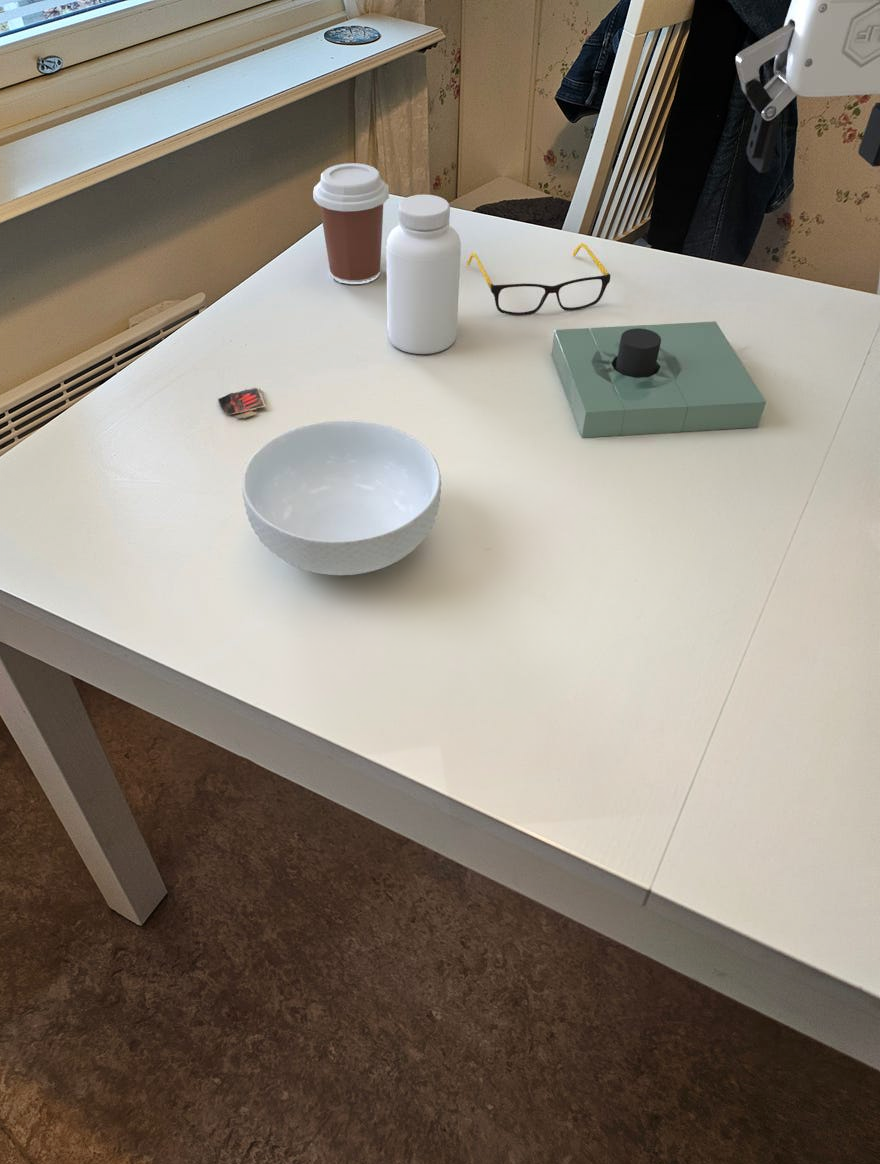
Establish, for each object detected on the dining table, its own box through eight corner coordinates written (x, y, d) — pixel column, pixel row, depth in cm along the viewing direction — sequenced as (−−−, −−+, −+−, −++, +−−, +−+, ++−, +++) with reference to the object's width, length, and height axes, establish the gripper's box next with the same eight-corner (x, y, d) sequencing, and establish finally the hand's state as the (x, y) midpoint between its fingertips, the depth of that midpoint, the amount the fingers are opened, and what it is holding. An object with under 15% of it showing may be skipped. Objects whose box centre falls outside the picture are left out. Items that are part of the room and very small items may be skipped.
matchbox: (213, 402, 95) (212, 398, 94) (256, 386, 97) (256, 382, 96) (233, 423, 92) (233, 419, 92) (277, 406, 94) (277, 402, 94)
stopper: (644, 378, 97) (655, 327, 92) (654, 399, 94) (666, 347, 90) (607, 381, 97) (616, 329, 92) (616, 401, 94) (626, 349, 90)
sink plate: (709, 345, 101) (715, 321, 99) (758, 427, 90) (766, 401, 88) (551, 354, 100) (554, 329, 98) (581, 437, 90) (585, 412, 87)
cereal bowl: (457, 592, 75) (460, 527, 70) (258, 618, 73) (246, 553, 68) (421, 470, 86) (421, 407, 81) (247, 490, 85) (236, 427, 80)
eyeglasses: (491, 320, 106) (493, 288, 103) (466, 265, 115) (467, 234, 112) (608, 309, 107) (614, 277, 104) (573, 256, 117) (578, 224, 114)
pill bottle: (446, 361, 100) (449, 224, 89) (378, 350, 102) (373, 214, 91) (465, 327, 105) (471, 193, 94) (400, 316, 107) (398, 184, 96)
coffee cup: (364, 297, 110) (359, 195, 101) (305, 279, 114) (295, 179, 105) (404, 267, 115) (403, 168, 106) (347, 251, 119) (341, 154, 110)
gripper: (790, -77, 61) (727, 186, 74) (1036, -87, 62) (932, 175, 74) (752, -97, 66) (700, 152, 79) (980, -106, 67) (892, 142, 80)
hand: (813, 163), depth 77 cm, fingers open, 9 cm apart
